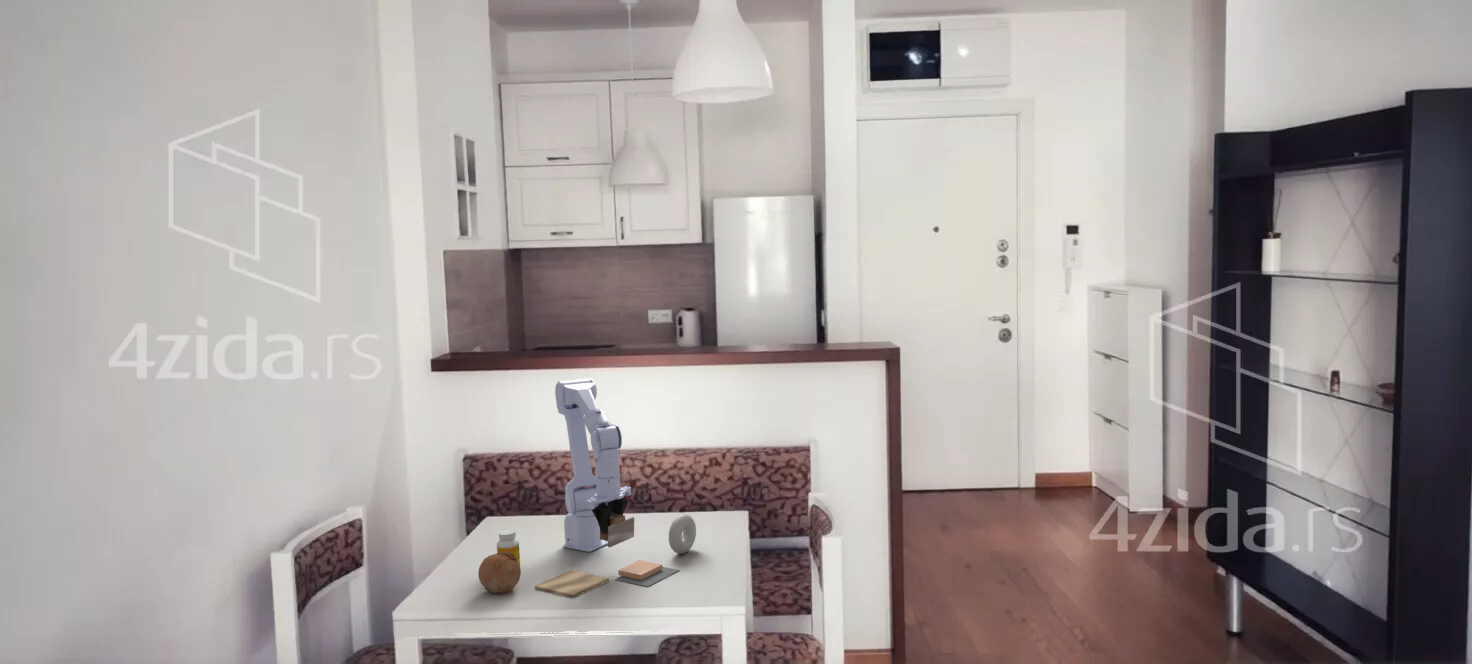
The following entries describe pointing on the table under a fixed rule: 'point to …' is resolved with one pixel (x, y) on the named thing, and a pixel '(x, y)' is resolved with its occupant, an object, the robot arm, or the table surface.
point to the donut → (675, 534)
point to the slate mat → (650, 577)
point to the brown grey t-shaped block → (618, 529)
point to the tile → (640, 570)
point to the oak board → (571, 583)
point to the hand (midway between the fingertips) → (610, 530)
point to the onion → (499, 572)
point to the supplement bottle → (508, 543)
